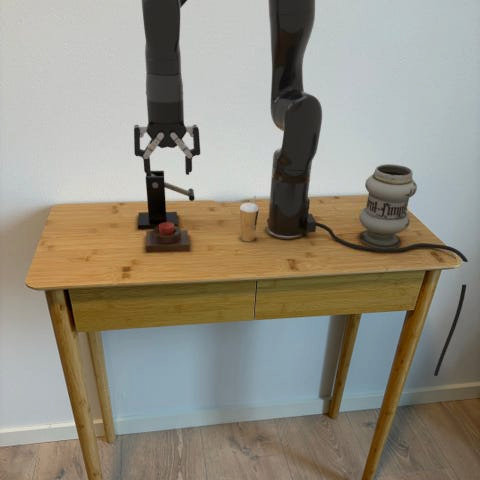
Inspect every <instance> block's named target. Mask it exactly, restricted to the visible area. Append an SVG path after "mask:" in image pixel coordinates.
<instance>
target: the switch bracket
mask: <svg viewBox="0 0 480 480" xmlns="http://www.w3.org/2000/svg"><path fill="white" fill-rule="evenodd" d="M151 173H152V174H155V175H157V176H151V175H150V176H148V173H145V175H146V176H145V190H146V200H147V202H146V203H147V211H146V212H145V211H144V212H142V211H141V212H139V211H138V217H137V230H153V229H154V228H156V227H158V226H159V224H161V223H164V222H170V223H173V224H174V226H177V227H179V224H178V212H177V211H167V202H166V188H165V186H164V182H165V170H151Z"/></svg>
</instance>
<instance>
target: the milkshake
mask: <svg viewBox="0 0 480 480" xmlns="http://www.w3.org/2000/svg"><path fill="white" fill-rule="evenodd" d="M255 202H256V195H254V196H253V199H252V202H243V203H242V204H241V205H240V206H239V216H240V237H241V240H242V241H244V242H253V241H254V240H255V238H256V231H257V225H258V217H259V216H258V215H259V210H260V207H259V205H258V204H257V203H255Z"/></svg>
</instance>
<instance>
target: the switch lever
mask: <svg viewBox="0 0 480 480" xmlns="http://www.w3.org/2000/svg"><path fill="white" fill-rule="evenodd" d="M151 176H157V175H155V174H152V173H151ZM164 186H165V189H167V190H170V191H173V192H176V193H178V194H181V195H184V196H186V197H188V200H189V201H190V202H194V201H195V199H196V198H195V197H196V196H195V190H194V189H193V188H189V189H188V190H187V189H184V188H182V187H179V186H176V185H174V184H172V183H169V182H166V181H164Z"/></svg>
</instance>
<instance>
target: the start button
mask: <svg viewBox="0 0 480 480" xmlns="http://www.w3.org/2000/svg"><path fill="white" fill-rule="evenodd" d="M174 232H175V230H174V224H173V223H170V222H164V223H161V224H159V233H160V234H164V235H169V234H173V233H174Z"/></svg>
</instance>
